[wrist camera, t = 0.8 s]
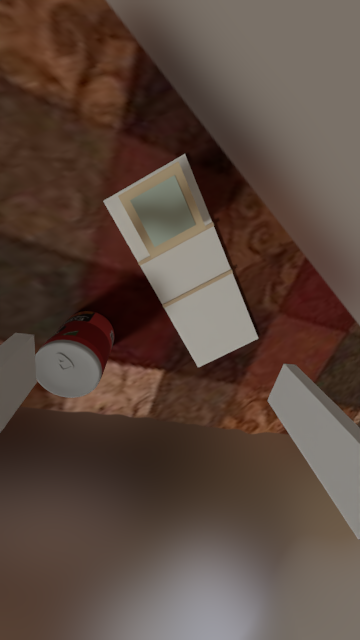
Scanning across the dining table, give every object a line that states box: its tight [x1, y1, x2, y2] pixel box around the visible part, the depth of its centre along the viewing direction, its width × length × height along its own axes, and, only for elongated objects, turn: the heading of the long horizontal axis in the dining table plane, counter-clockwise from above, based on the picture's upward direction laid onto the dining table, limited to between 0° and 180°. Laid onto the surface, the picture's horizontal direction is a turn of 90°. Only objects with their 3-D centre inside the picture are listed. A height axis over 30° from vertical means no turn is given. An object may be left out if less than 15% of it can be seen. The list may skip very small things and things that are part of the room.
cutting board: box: [103, 154, 258, 367], centre depth 34 cm, size 30×12×1 cm, turn 27°
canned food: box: [35, 311, 115, 398], centre depth 31 cm, size 8×8×11 cm
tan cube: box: [118, 162, 206, 258], centre depth 27 cm, size 7×7×7 cm
